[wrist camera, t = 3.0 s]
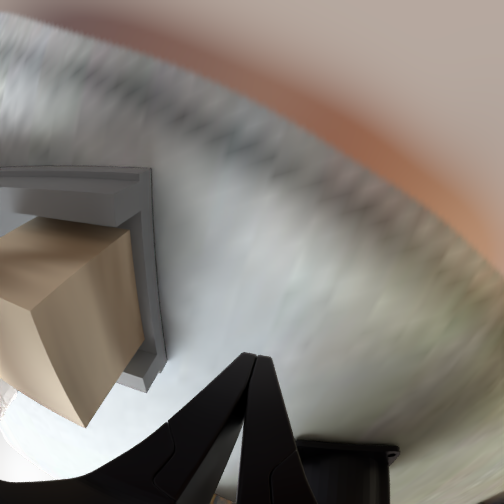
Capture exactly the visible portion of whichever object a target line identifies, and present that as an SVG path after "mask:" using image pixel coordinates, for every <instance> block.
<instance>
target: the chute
mask: <svg viewBox="0 0 504 504" xmlns="http://www.w3.org/2000/svg"><path fill="white" fill-rule="evenodd" d="M37 216H38V217H45V218H52V219H59V220H66V221H73V222H79V223H86V224H93V225H100V226H107V227H114V228H121V229H128V230H130V236H131V247H132V256H133V265H134V273H135V281H136V288H137V295H138V302H139V309H140V315H141V321H142V327H143V332H144V338H145V340H144V341H143V343H142V344H141V346H140V347H139V349H138V350H137V352H136V353H135V354H134V356H133V357H132V359H131V360H130V362H129V363H128V365H127V366H126V368H125V369H124V371H123V372H122V374H121V375H120V377H119V378H118V380H117V381H116V383H119V384H121V385H124V386H127V387H130V388H133V389H136V390H139V391H142V392H145V393H147V392H148V390H149V388H150V386H151V385H152V383H153V381H154V379H155V378H156V376H157V374H158V373H161V372H162V370H163V368H164V366H165V365H166V363H167V358H166V352H165V345H164V337H163V330H162V322H161V313H160V305H159V295H158V285H157V275H156V263H155V250H154V234H153V216H152V189H151V168H131V167H103V166H25V167H0V237H2V236H4V235H5V234H7V233H9V232H11V231H12V230H14V229H16V228H17V227H19V226H21V225H23V224H25V223H26V222H28V221H30V220H32V219H34V218H35V217H37Z"/></svg>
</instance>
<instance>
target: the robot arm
mask: <svg viewBox="0 0 504 504" xmlns="http://www.w3.org/2000/svg"><path fill="white" fill-rule="evenodd" d="M243 422H244V426H243V436H242V446H241V456H240V466H239V476H238V486H237V495H236V504H390V477H389V466H390V465H391V464H392V463H393V462H394V460H395V459H396V458H397V457H398V456H399V455H400V448H399V447H398V446H373V445H350V444H336V443H325V442H315V441H306V440H295V439H294V436H293V432H292V429H291V425H290V421H289V418H288V414H287V411H286V407H285V404H284V400H283V396H282V393H281V389H280V386H279V382H278V378H277V375H276V371H275V368H274V364H273V360H272V358H271V357H269V356H263V355H258V356H256V354H252V353H246V352H243V353H241V354H240V355H239V356H238V357H237V358H236V359H235V360H234V361H233V362H232V363H231V364H230V365H229V366H228V367H227V368H226V369H225V370H223V371H222V372H221V373H220V374H219V375H218V376H217V377H216V378H215V379H214V380H213V381H212V382H211V383H209V384H208V385H207V386H206V387H205V388H204V389H203V390H202V391H201V392H200V393H199V394H197V395H196V396H195V397H194V398H193V399H192V400H191V401H190V402H188V403H187V404H186V405H185V406H184V407H183V408H182V409H181V410H179V411H178V412H177V413H176V414H175V415H174V416H173V417H171V418H170V419H169V420H168V423H167V422H166V423H164V424H163V425H162V426H161V427H160V428H159V429H157V430H156V431H155V432H154V433H152V434H151V435H150V436H149V437H147V438H146V439H145V440H143V441H142V442H140V443H139V444H137V445H136V446H134V447H133V448H131V449H130V450H128V451H127V452H125V453H123V454H122V455H120V456H118V457H117V458H115V459H113V460H112V461H110V462H108V463H107V464H105V465H103V466H101V467H100V468H98V469H96V470H94V471H92V472H91V473H88V474H86V475H83V476H80V477H76V478H71V479H62V480H51V481H38V482H6V481H2V480H0V504H210V502H211V499H212V497H213V495H214V493H215V490H216V488H217V486H218V483H219V481H220V479H221V476H222V474H223V472H224V469H225V467H226V465H227V462H228V460H229V457H230V455H231V453H232V450H233V448H234V445H235V443H236V440H237V438H238V436H239V433H240V431H241V428H242V425H243Z"/></svg>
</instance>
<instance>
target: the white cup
mask: <svg viewBox="0 0 504 504" xmlns="http://www.w3.org/2000/svg"><path fill="white" fill-rule="evenodd" d="M16 396H17V389H15V388H14V387H12V386H11V385H9V384H8V383H6V382H5V381H3V380H2V379H1V378H0V420H1V418H2V417H3V416H4V414H5V412H6V409H7V408H8V407H9V405H10V404H11V403H12V401H13V400H14V399H15V397H16Z"/></svg>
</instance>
